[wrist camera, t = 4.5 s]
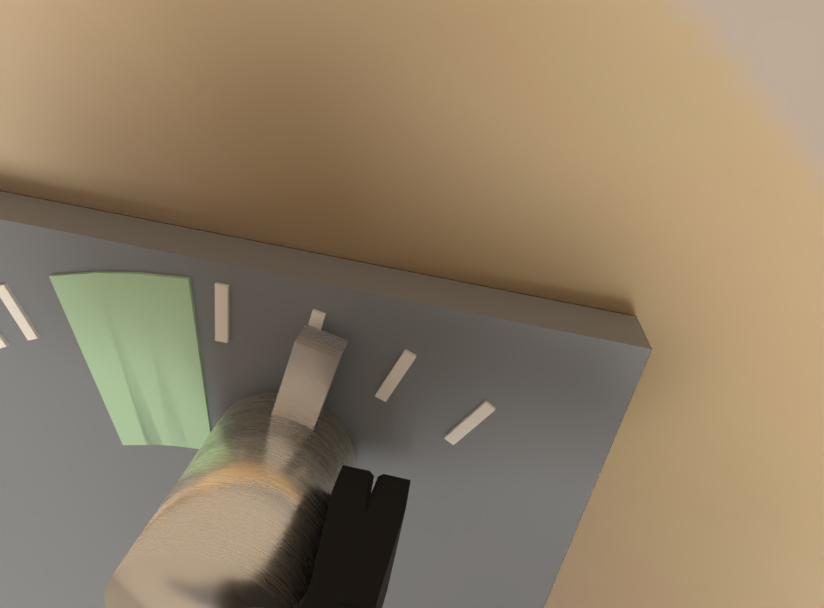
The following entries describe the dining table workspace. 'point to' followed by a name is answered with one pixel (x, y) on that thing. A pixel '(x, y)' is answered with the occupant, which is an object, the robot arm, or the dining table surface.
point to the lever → (247, 499)
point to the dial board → (263, 373)
